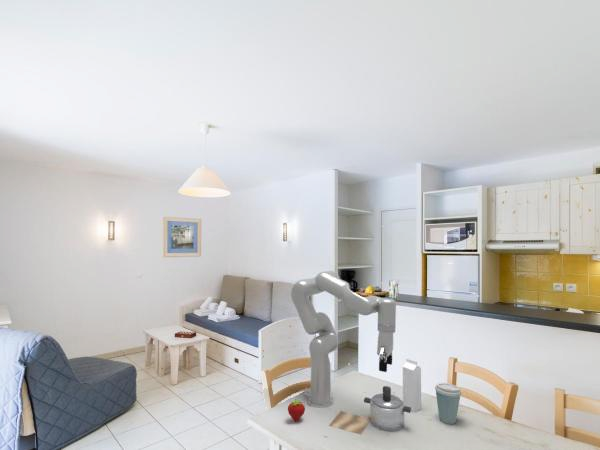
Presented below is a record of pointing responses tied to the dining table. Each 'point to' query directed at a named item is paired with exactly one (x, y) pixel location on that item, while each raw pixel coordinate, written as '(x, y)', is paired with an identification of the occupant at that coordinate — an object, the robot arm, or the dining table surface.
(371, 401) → the pot
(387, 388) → the lid
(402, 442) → the dining table surface
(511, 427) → the dining table surface
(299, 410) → the strawberry
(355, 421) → the trivet
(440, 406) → the disposable coffee cup
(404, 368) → the milk
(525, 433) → the dining table surface
